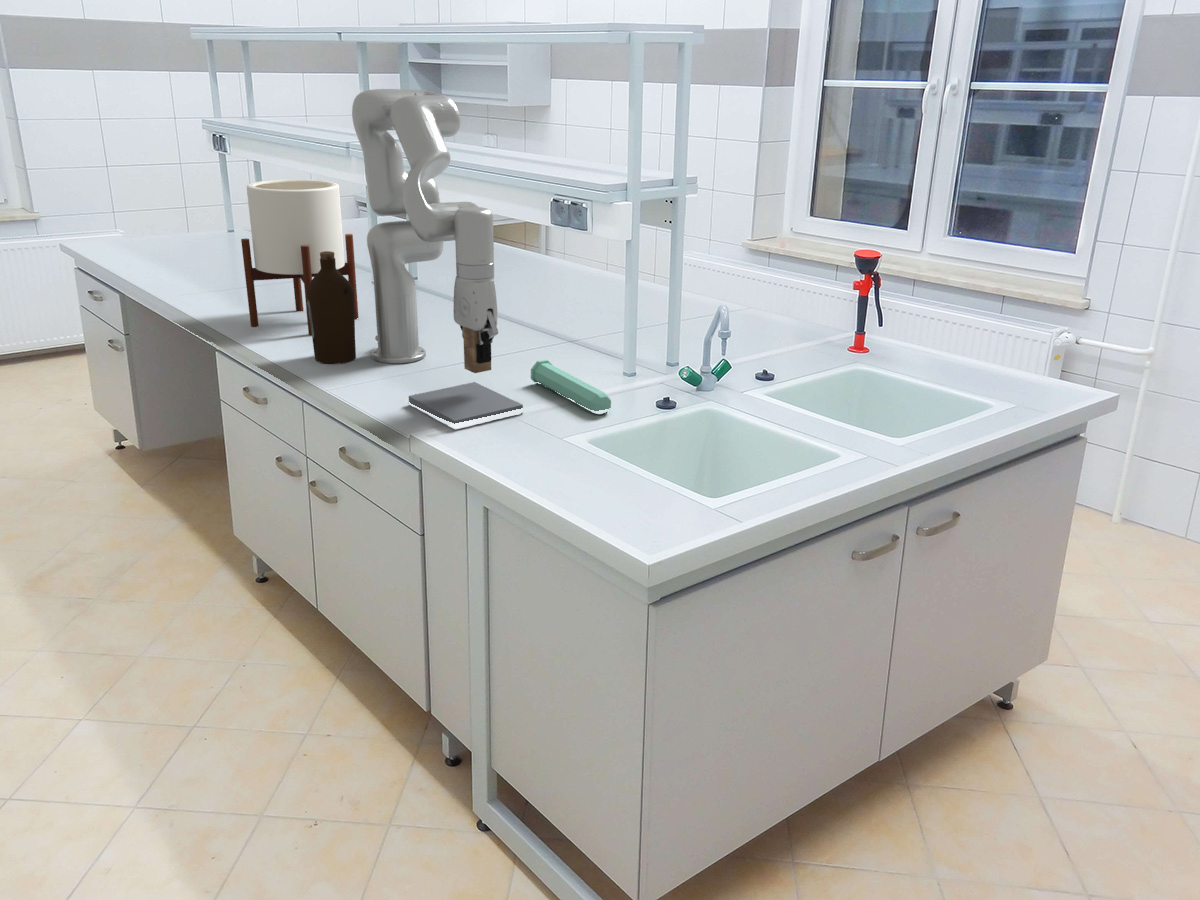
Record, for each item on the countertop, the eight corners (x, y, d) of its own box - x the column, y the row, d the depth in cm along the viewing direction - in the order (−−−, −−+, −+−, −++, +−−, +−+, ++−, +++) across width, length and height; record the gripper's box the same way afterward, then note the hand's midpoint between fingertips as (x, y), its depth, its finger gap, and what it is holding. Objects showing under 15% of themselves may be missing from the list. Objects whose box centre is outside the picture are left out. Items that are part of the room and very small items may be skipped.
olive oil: (363, 352, 235) (356, 248, 226) (352, 365, 226) (344, 257, 216) (319, 351, 235) (310, 247, 226) (306, 364, 226) (296, 256, 216)
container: (612, 387, 197) (547, 354, 216) (589, 402, 195) (526, 367, 214) (620, 410, 200) (556, 376, 219) (597, 425, 198) (535, 389, 217)
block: (464, 368, 202) (462, 321, 199) (480, 365, 205) (479, 318, 201) (474, 373, 200) (473, 325, 196) (491, 369, 202) (490, 322, 198)
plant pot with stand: (365, 317, 266) (356, 182, 253) (314, 337, 247) (301, 192, 233) (298, 308, 274) (285, 177, 260) (243, 327, 254) (226, 186, 241)
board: (409, 405, 202) (408, 395, 201) (474, 390, 211) (474, 382, 210) (454, 430, 189) (454, 420, 188) (522, 414, 198) (522, 404, 198)
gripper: (437, 266, 198) (441, 353, 205) (482, 280, 186) (484, 372, 193) (468, 262, 203) (471, 347, 210) (514, 276, 191) (516, 366, 198)
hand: (477, 358), depth 201 cm, fingers closed on block, 4 cm apart
